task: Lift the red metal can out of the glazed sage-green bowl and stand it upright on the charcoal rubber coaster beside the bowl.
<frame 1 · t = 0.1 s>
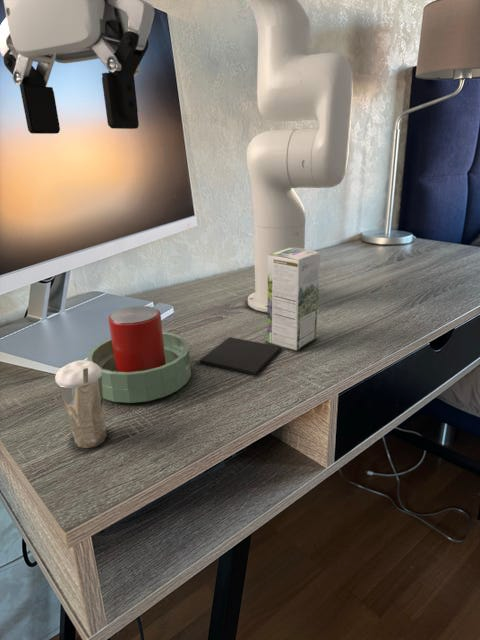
hand: (82, 130, 40), 31 cm above the table, tool pointing down, fingers open, 9 cm apart
can: (138, 346, 59), in the dish
syrup box: (292, 342, 71), on the table
milkshake: (92, 442, 49), on the table
dish: (143, 379, 61), on the table
coaster: (241, 356, 67), on the table
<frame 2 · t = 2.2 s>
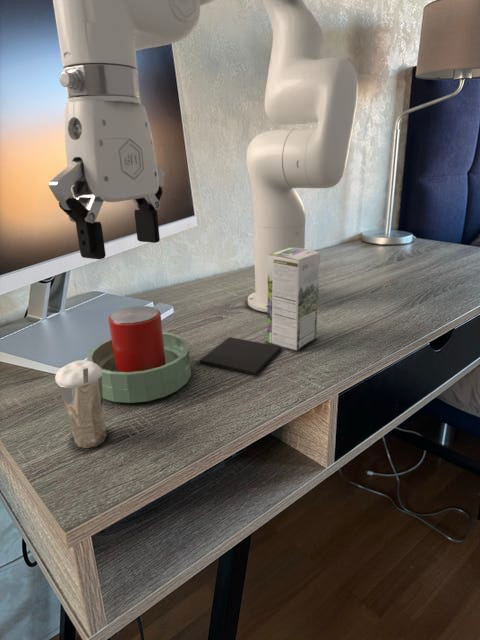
hand: (123, 249, 53), 18 cm above the table, tool pointing down, fingers open, 9 cm apart
nothing on the table moved.
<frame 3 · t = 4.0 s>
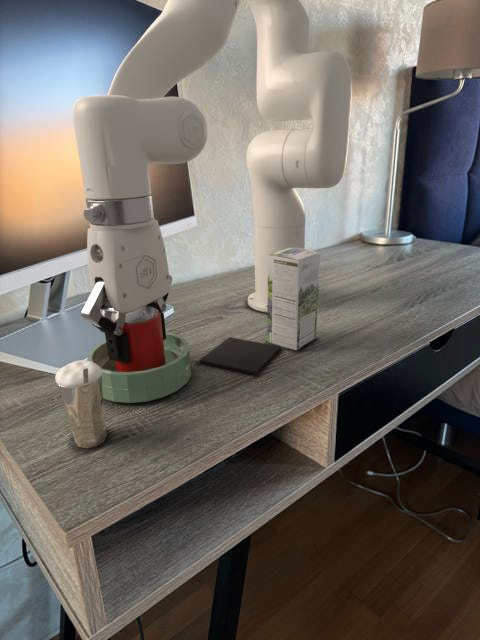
hand: (138, 348, 59), 5 cm above the table, tool pointing down, fingers closed on can, 6 cm apart
can: (138, 346, 59), in the dish, touching gripper
everything else where it was.
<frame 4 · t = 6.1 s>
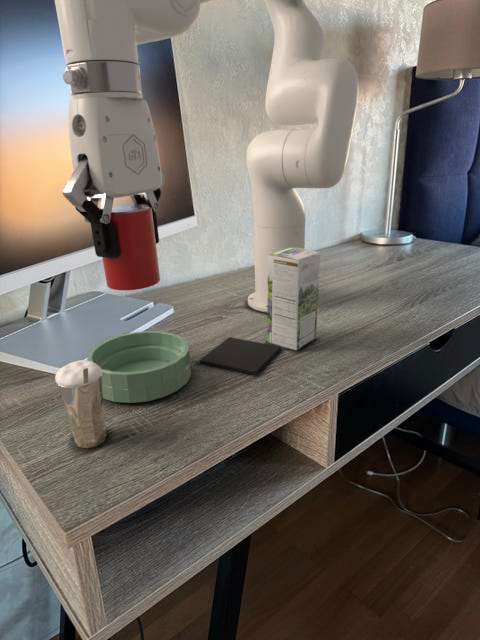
hand: (129, 248, 55), 18 cm above the table, tool pointing down, fingers closed on can, 6 cm apart
can: (128, 246, 54), point 18 cm above the table, touching gripper
everything else where it was.
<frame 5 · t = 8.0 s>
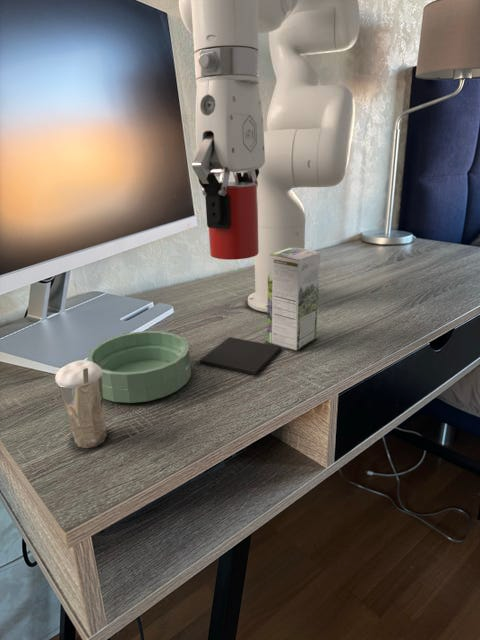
hand: (233, 222, 59), 20 cm above the table, tool pointing down, fingers closed on can, 6 cm apart
can: (233, 219, 59), point 20 cm above the table, touching gripper
everything else where it was.
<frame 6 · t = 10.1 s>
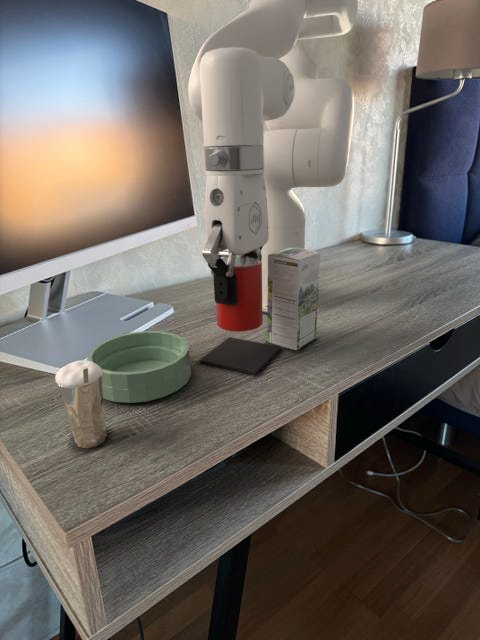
hand: (238, 294, 63), 10 cm above the table, tool pointing down, fingers closed on can, 6 cm apart
can: (238, 292, 63), point 10 cm above the table, touching gripper
everything else where it was.
when the fingers open (5 cm above the table, at t = 11.8 s): can stays where it is, resting on coaster.
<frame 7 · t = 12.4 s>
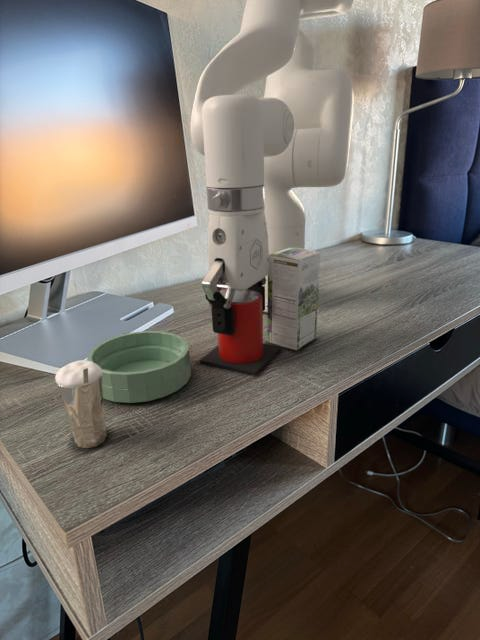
hand: (240, 321, 65), 6 cm above the table, tool pointing down, fingers open, 9 cm apart
can: (240, 325, 65), on the coaster
everything else where it was.
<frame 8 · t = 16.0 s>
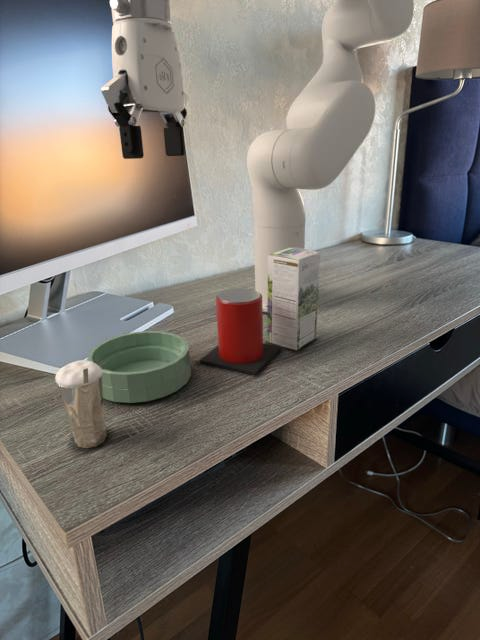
hand: (155, 157, 64), 28 cm above the table, tool pointing down, fingers open, 9 cm apart
nothing on the table moved.
at the end: can inside the target area (0.2 cm from its centre), point 5.1 cm above the table; can tilted 0°; can touching coaster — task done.
